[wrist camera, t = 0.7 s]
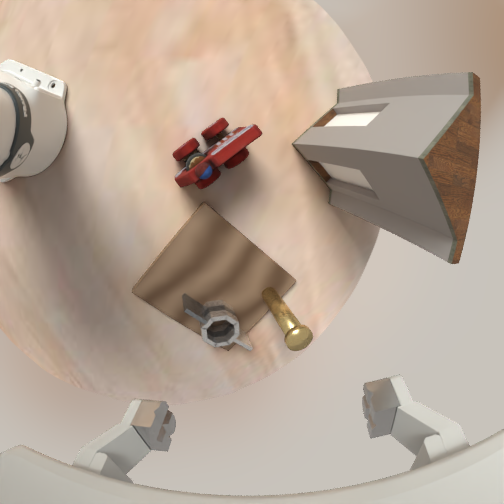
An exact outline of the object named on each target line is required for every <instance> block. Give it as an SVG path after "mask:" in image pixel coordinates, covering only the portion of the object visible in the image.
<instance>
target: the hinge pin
mask: <svg viewBox="0 0 504 504" xmlns="http://www.w3.org/2000/svg"><path fill="white" fill-rule="evenodd" d="M262 298H263V300H264V301H265V303H266V305H267V306H268V308H269V310H270V311H271V313H272V314H273V316H274V318H275V319H276V321H277V323H278V324H279V326H280V327H281V329H282V331H283V332H284V334H285V339H284V340H285V343H286V345H287V347H288V348H289V349H290V350H292V351H299V350H302V349H304V348H306V347H307V346H308V345H309V344H310V342H311V341H312V338H313V334H312V332H311V331H310V329H309V328H308V327H307V326H305V325H301V324H300V323H299V321H298V320H297V318H296V317H295V316H294V314H293V313H292V312H291V310H290V309H289V307H288V306H287V305H286V303H285V302H284V301H283V299H282V298H281V297H280V295H279V294H278V292H277V291H276V290H275V288H273V287H267V288H265V289H264V290H263V292H262Z"/></svg>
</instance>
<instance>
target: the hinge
mask: <svg viewBox="0 0 504 504" xmlns="http://www.w3.org/2000/svg"><path fill="white" fill-rule="evenodd" d="M182 299H183V307H184V312H186V313H187V314H189V315H190V316H192V317H193V318H195V319H197V320H198V321H199V325H200V329H201V334H202V339H203V341H204V342H206V343H208V344H210V345H212V346H213V347H220V346H226V345H230V344H231V343H232V342H233V341H234V342H235V343H237V344H239V345H241V346H242V347H244V348H246V349H248V350H249V351H251V350H252V349H253V347H252V345H251V343H250V340H249V338H248V336H247V334H246V332H245V331H243V330H241V329H240V328H239V322H238V319H237V317H236V314H235V312H234V310H233V307H232V306H230V305H229V304H227V303H226V302H224V301H223V300H216V301H209V302H206V303H205V305H202V304H200V303H199V302H197V301H196V300H194V299H193V298H191V297H190V296H188V295H187V294H185V293H184V294H183V295H182ZM220 320H226V321H225V322H224V323H223V324H222V325H219V326H213V327H211V326H210V325H211V324H212V323H213V322H214V321H220Z"/></svg>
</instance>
